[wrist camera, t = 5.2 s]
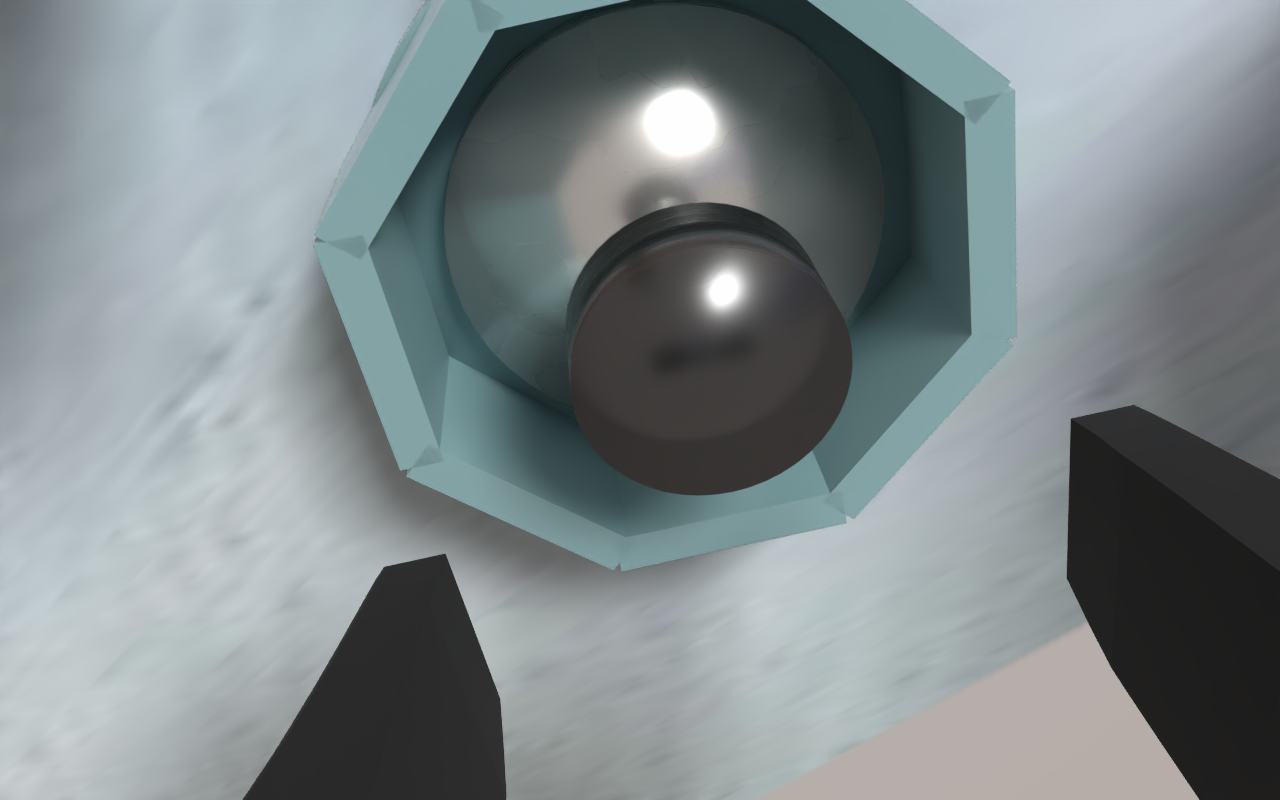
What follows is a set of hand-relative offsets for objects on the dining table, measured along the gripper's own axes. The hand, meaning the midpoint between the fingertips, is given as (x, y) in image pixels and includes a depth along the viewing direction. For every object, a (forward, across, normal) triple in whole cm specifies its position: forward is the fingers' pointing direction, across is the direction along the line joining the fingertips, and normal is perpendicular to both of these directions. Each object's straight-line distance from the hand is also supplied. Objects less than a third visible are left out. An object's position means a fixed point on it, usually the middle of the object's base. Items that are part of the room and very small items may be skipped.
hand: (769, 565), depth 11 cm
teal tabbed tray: (+10, 0, -1) cm, 10 cm away
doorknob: (+9, 0, 0) cm, 9 cm away
